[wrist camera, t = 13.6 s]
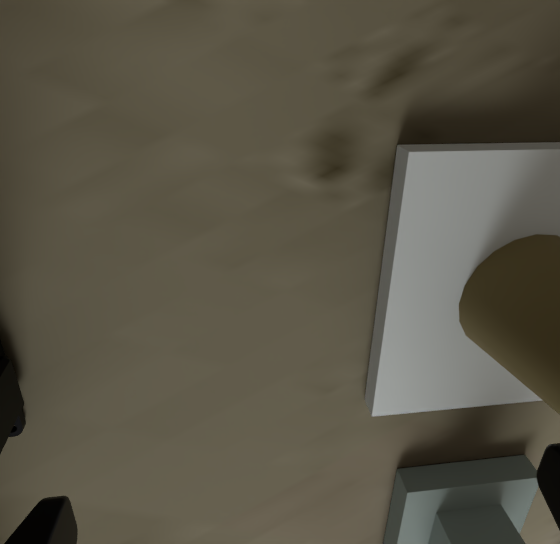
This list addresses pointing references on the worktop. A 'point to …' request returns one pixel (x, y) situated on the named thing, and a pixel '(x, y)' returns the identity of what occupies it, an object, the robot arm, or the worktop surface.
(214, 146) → the worktop surface
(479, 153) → the arbor press
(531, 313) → the cork
